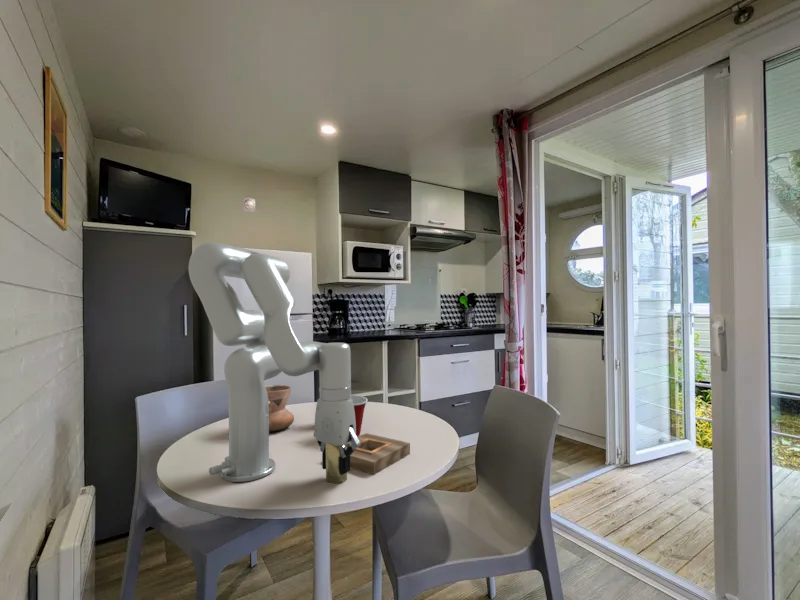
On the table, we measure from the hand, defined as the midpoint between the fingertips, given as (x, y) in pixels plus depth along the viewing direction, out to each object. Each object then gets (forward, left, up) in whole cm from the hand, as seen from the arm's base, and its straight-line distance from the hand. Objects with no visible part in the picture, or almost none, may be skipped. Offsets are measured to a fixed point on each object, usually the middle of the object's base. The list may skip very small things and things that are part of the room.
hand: (336, 469), depth 90 cm
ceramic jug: (+17, +48, -3) cm, 51 cm away
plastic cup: (+26, +19, -3) cm, 32 cm away
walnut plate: (+15, +2, -2) cm, 15 cm away
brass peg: (0, 0, -3) cm, 3 cm away
